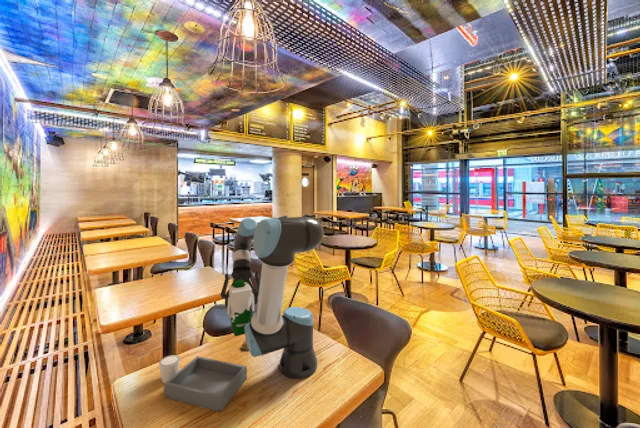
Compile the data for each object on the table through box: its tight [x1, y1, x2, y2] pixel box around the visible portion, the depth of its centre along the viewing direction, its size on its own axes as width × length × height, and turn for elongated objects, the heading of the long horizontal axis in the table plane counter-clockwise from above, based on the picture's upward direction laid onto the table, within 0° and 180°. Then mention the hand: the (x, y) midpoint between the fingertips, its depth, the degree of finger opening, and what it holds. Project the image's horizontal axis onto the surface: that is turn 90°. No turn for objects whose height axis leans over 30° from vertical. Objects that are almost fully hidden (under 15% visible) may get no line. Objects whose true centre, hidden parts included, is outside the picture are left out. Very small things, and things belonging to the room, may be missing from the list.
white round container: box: [158, 354, 181, 384], centre depth 103 cm, size 7×7×7 cm
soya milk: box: [228, 279, 254, 337], centre depth 110 cm, size 9×9×20 cm
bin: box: [163, 356, 248, 413], centre depth 98 cm, size 22×16×5 cm
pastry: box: [241, 340, 249, 351], centre depth 124 cm, size 9×7×4 cm
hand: (241, 313), depth 107 cm, fingers closed on soya milk, 9 cm apart
